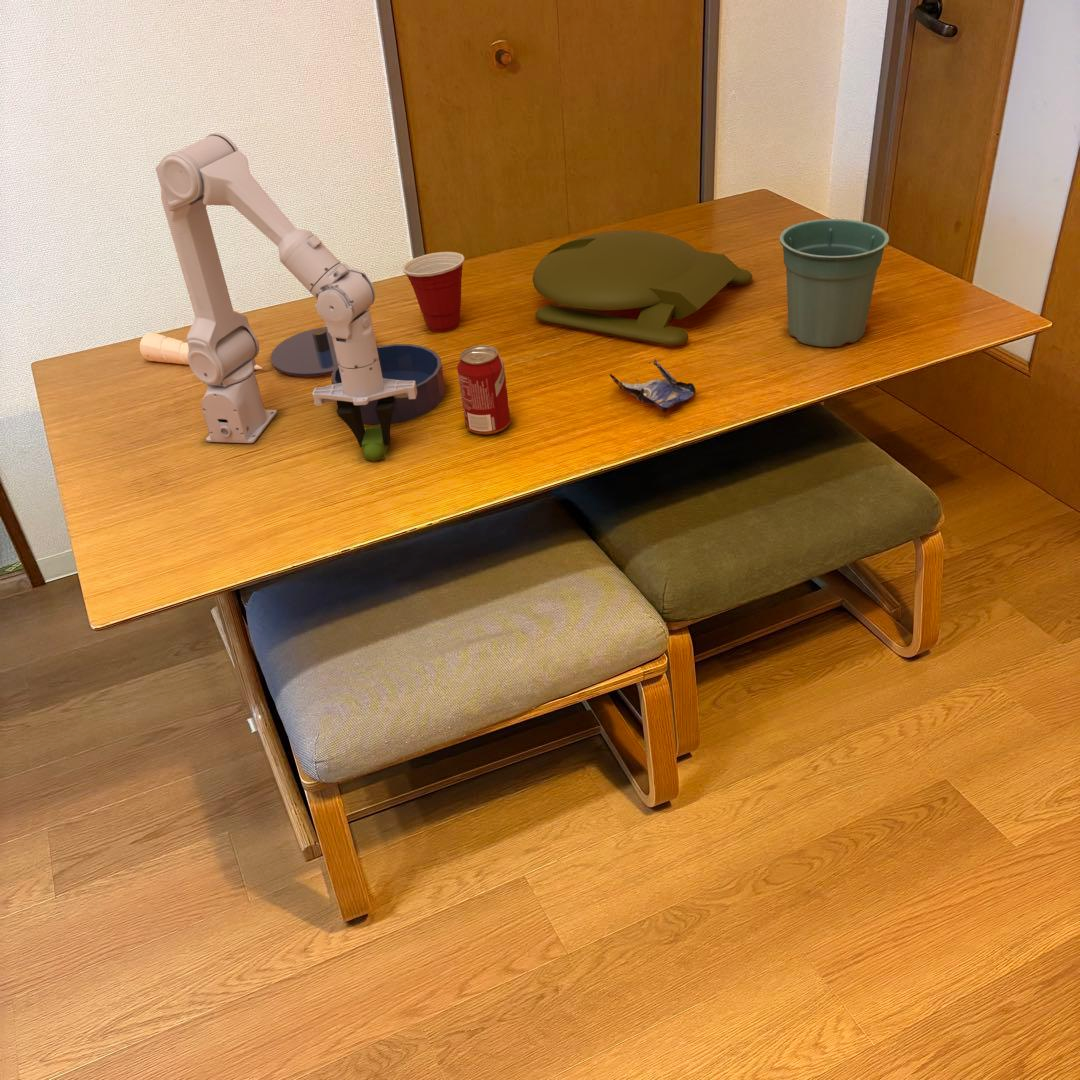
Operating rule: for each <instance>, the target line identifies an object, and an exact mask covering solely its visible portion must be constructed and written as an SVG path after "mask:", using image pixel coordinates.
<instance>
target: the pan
mask: <svg viewBox="0 0 1080 1080" xmlns="http://www.w3.org/2000/svg"><path fill="white" fill-rule="evenodd" d="M376 346H377V351H378V356H379V362H380V367H381V372H382V377H383V378H384V379H393V380H402V381H415V382H416V388H417V396H416V399H408V397H404V398H396V401H395V405H394V409H393V412H392V418H391V425H392V424H398V423H404V422H407V421H410V420H413V419H417V418H418V417H422V416H423V415H425V414H427V413H429V412H431V411H433V410H434V409H435V408H436V407H437V406H438V405H440V403H442V401H443V399H444V398H445V396H446V383H445V376H444V369H443V363H442V358H441V356H439V354H438V353H437V352H436V351H435V350H433V349H430V348H428V347H426V346H424V345H423V346H422V345H417V344H411V343H392V344H385V345H384V344H383V345H376ZM330 381H331V385H334V384H338V383H342V380H341V376H340V371H339V367H338V365H337V366H336V368H335V369H334V370H333V372H332V373H331V379H330ZM335 403H336V404H337V402H335ZM377 403H378V399H377V400H373V401H369V402H368V404H366V405H360V409H361V416H362V421H363V424H364V425H373V426H376V425H379V426H381V425H380V422H379V419H378V416H377V413H376V410H375V409H376V405H377Z"/></svg>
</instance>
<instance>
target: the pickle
mask: <svg viewBox="0 0 1080 1080" xmlns="http://www.w3.org/2000/svg"><path fill="white" fill-rule="evenodd" d="M361 448H362V453H363V457H364V461H370V462H377V461H379V460H385V459H386V457H387V452H388V449H389V445H388V446H385V445H384V442H383V437H382V430H381V425H373V426H369V427H365V433H364V437H363V440H362V447H361Z"/></svg>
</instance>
